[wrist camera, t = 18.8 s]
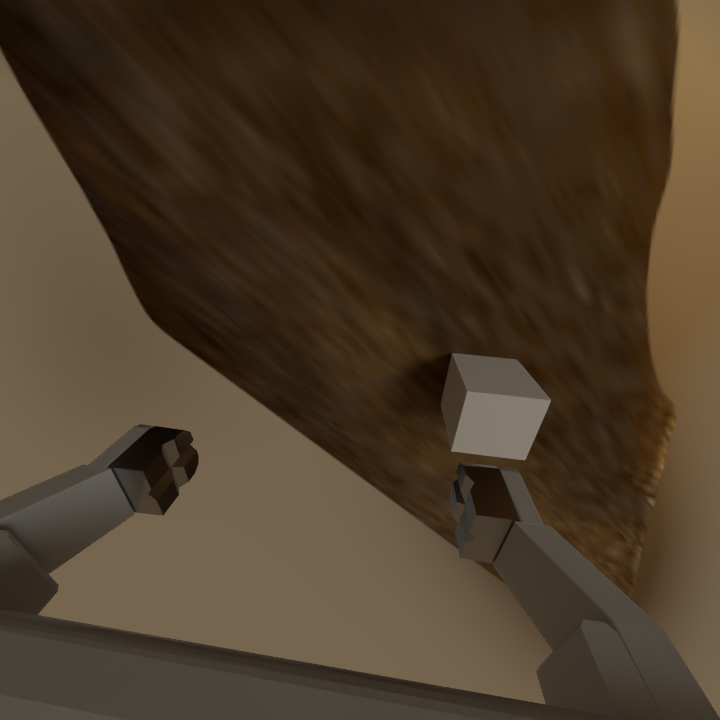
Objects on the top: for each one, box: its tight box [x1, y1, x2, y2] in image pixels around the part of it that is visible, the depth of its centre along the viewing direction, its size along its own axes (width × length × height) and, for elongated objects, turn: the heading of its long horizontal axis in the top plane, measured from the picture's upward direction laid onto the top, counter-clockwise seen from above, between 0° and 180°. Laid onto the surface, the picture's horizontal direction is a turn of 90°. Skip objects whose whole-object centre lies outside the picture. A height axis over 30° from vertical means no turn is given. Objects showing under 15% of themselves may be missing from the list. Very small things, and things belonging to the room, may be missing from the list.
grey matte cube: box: [440, 353, 551, 460], centre depth 30 cm, size 7×7×8 cm
